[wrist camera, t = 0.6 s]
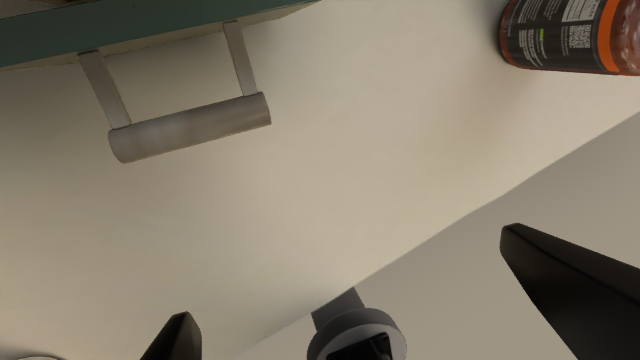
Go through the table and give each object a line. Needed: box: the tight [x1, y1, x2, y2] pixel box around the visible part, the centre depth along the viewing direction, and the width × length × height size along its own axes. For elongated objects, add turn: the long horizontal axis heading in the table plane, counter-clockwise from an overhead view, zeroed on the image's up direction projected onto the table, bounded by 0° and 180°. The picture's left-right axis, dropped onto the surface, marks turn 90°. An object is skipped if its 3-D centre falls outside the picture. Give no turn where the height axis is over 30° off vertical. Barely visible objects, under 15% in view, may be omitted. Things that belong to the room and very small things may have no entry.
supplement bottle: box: [499, 0, 640, 76], centre depth 20 cm, size 6×6×11 cm
